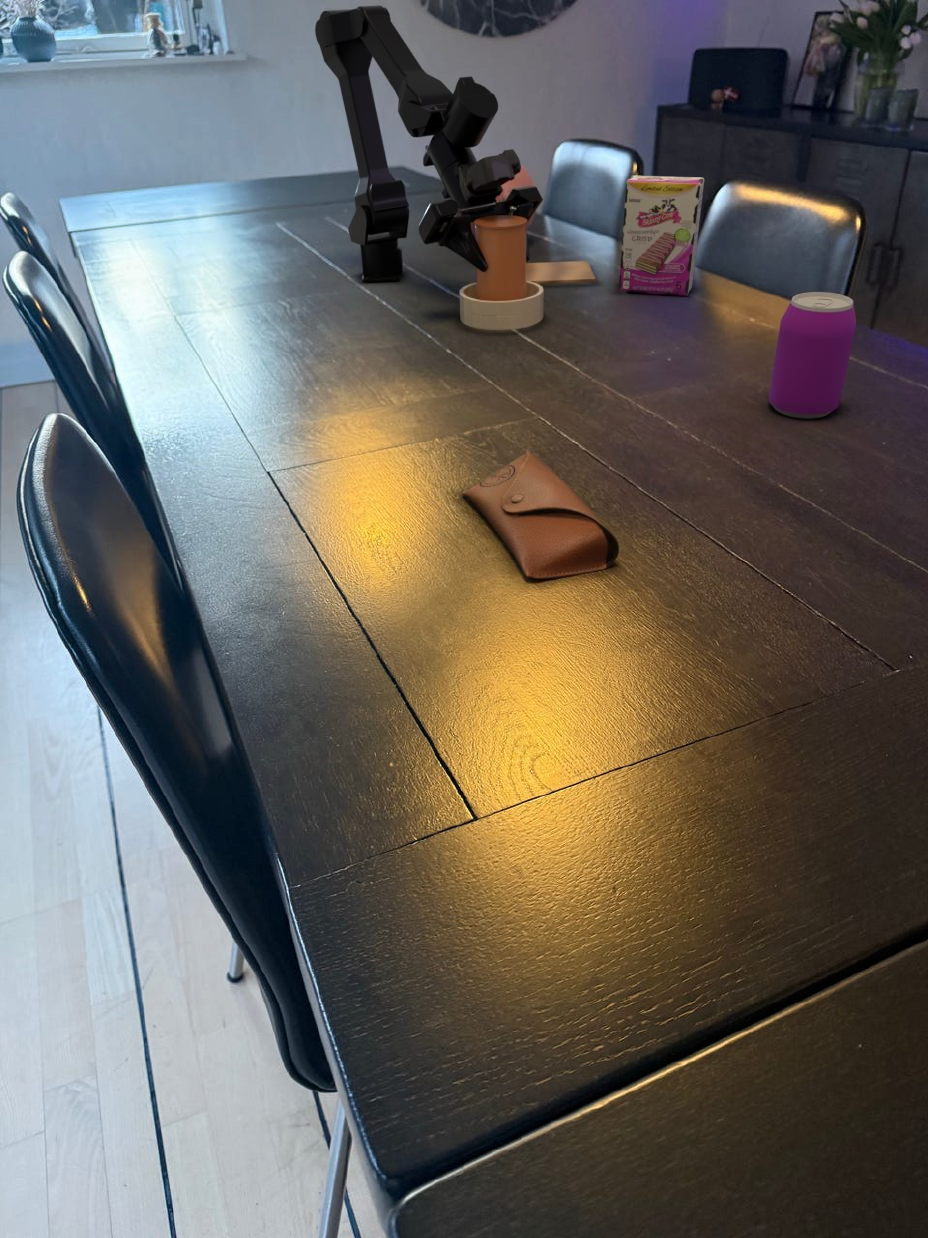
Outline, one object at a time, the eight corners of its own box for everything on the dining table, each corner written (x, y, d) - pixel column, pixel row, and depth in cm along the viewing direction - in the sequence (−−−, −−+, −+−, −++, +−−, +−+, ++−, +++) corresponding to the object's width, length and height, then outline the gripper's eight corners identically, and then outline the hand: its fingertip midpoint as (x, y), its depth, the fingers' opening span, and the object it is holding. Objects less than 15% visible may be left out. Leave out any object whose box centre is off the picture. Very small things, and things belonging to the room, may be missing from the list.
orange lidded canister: (476, 316, 129) (474, 227, 122) (476, 301, 135) (474, 215, 128) (527, 314, 129) (528, 225, 122) (525, 299, 135) (525, 214, 128)
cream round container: (460, 335, 128) (459, 303, 125) (460, 310, 138) (459, 280, 135) (545, 332, 128) (546, 300, 125) (540, 307, 138) (540, 277, 135)
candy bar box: (617, 293, 143) (624, 180, 133) (623, 285, 146) (630, 174, 137) (689, 297, 139) (701, 181, 130) (693, 288, 143) (705, 175, 134)
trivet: (522, 287, 148) (522, 281, 147) (518, 269, 157) (519, 263, 157) (595, 284, 147) (595, 278, 147) (587, 266, 157) (587, 260, 157)
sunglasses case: (454, 490, 87) (486, 428, 85) (512, 510, 91) (543, 452, 88) (528, 582, 73) (568, 511, 71) (592, 602, 77) (633, 536, 74)
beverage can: (828, 425, 97) (851, 314, 91) (758, 413, 101) (775, 305, 94) (845, 402, 103) (868, 294, 96) (778, 391, 106) (795, 286, 99)
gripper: (424, 136, 117) (476, 240, 116) (535, 122, 126) (584, 218, 124) (397, 194, 127) (444, 290, 126) (502, 177, 135) (547, 267, 134)
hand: (506, 265), depth 127 cm, fingers closed on orange lidded canister, 7 cm apart
